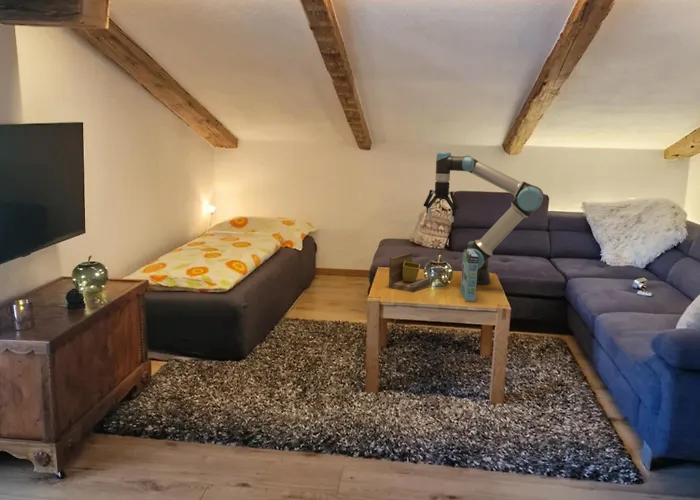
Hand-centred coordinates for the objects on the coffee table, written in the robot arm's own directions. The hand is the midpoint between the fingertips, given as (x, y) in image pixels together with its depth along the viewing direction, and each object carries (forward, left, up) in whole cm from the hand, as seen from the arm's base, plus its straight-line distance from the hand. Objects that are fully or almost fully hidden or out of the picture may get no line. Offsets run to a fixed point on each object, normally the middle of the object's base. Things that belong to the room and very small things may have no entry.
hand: (440, 221), depth 330 cm
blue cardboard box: (-25, +14, -35) cm, 45 cm away
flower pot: (+9, +15, -32) cm, 36 cm away
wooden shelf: (+7, +15, -35) cm, 38 cm away
